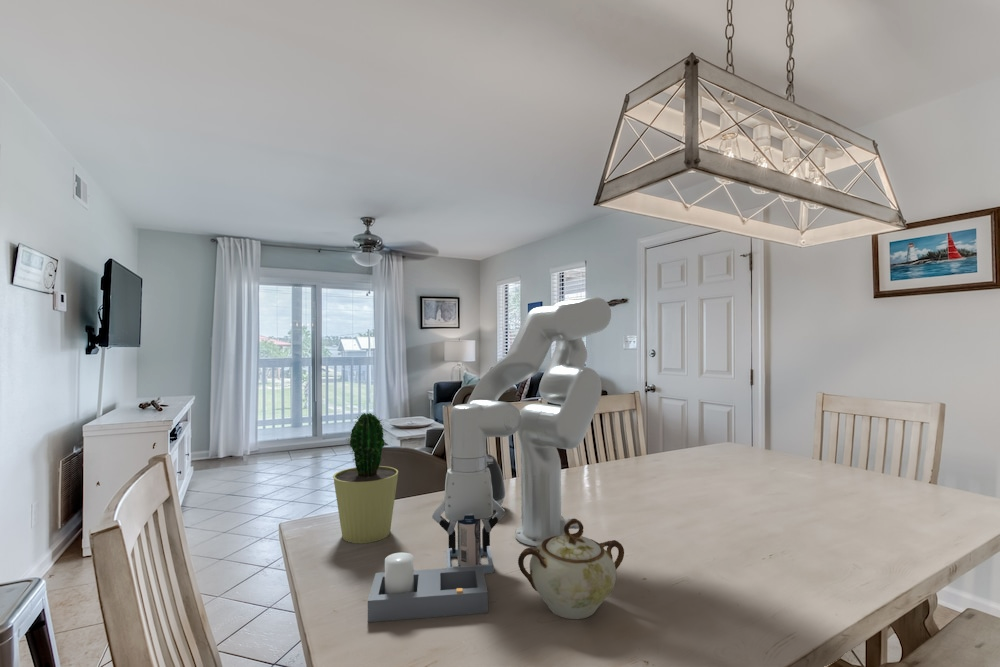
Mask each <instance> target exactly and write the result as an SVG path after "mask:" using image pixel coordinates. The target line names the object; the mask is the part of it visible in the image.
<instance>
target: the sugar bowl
mask: <svg viewBox="0 0 1000 667" xmlns="http://www.w3.org/2000/svg"><path fill="white" fill-rule="evenodd" d="M579 520H580V519H577V518H573V519H571V520H569V521H568V522H567V523H566V524H565V526H564V533H565V535H559V536H554V537H550V538H547V539H546V540H544V541H543V542H542V544H540V545H539V546H536V548H534V547H527V548H525V549H524V550H522V551H521V553H520V554H519V556H518V558H517V559H518V560H517V564H518V568H519V571H520V572H521V573H522V574H523V576H524V577H525V578H526V579H527V581H528V582H529V584H530V586H531V587H532V589H534V591H535V592H537V593H538V594H539V596H540V598H541V599H542V600H543V601H544V602H545V604H546V605H547V607H548V609H549V610H550V611H551V612H552V613H553V614H554V615H556V616H558V617H561V618H563V619H568V620H581V619H586V618H589V617H591V616H592V615H593V614H595V613H596V611H597V609H598V608H599V607H600V606H601V604H603V602H604V601H605V600H606V599H607V598H608V596H609V595H610V594H611V592H612V590H613V589H614V587H615V583H616V579H617V569H618V568H619V566H620V565H621V564H622V562H623V560H624V556H625V549H624V546H623V545H622V543H620V542H619V541H618V540H616V539H613V540H608V541H604V542H601V543H599V542H597V541H596V540H594V539H591V538H589V537H586V536H584V535H583V534H584V524H583V523H582V521H581V522H580V521H579ZM573 524H578V525H579V529H578V531H577V532H574V533H571V532H570V529H569V527H570V526H571V525H573ZM605 547H607V548H606V549H605ZM614 547H615V548H616V549H617V551H618V554H617V558H616V559H615V561H614V559H613V555H612V550H613V548H614ZM530 555H531V557H530V560H529V572H528V571H527V569H526V568H525V565H524V561H525V558H526V557H527V556H530Z"/></svg>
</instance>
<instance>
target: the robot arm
mask: <svg viewBox="0 0 1000 667" xmlns="http://www.w3.org/2000/svg"><path fill="white" fill-rule="evenodd" d="M611 310H612V309H611V307H610V305H609V302H608V301H606V300H605V299H604V298H602V297H598V296H595V297H594V296H593V297H583V298H574V299H565V300H561V301H559V302H558V301H557V302H555V303H554V305H543V306H537V307H534V308H532V309H531V310H529V312H528V313H527V314H526V315H525V317H524V320H523V322H522V324H521V326H520V328H519V329H518V332H517V333H516V335H515V337H514V339H513V341H512V343H511V344H510V347H509V349H508V350H507V352H506V355H505V356H503V358H501V360H499V361H498V362H497V363H496V364H494V365H493V366H492V367H491V368H490V369H489V370H488V371H487V372H486V373H484V375H483V376H482V377H481V378H480V379H479V380H478V382H477V383H476V385H475V387H474V389H473V391H472V392H471V395H470V396H469V398H468V400H467V402H466V403H461V404H456V405H454V406H453V407H452V408H451V409H450V416H449V418H450V419H449V420H450V421H449V422H450V426H449V427H450V429H449V430H450V436H449V437H450V468H448V469H447V471H446V474H445V483H444V499H443V500H444V501H442V502H441V504H440V505H438V507H437V508H436V509H435V510H434V511H433V513H432V514H431V517H432V519H433V520H434V521H435V522H436V523H437V524H439V526H440V527H441V528H442V529H443V530H444V531H446V532H447V534H448V549H452V554H455V553H456V549H457V548H456V547H457V546H456V545H457V544H456V542H457V540H456V537H457V535H456V530H455V528H456V526H457V524H458V521H460V520H464V516H465V514H471V513H472V514H474V518H475V519H480V521H481V522H482V524H483V528H482V529H481V535H482V536H481V539H482V540H481V541H482V542H481V547H483V551H484V552H487V547H489V546H491V539H490V538H491V531H492V529H493V528H495V527H496V525H497V523H499V521H500V520H502V518H503V517H504V516H505V514H506V511H505V509H504V508H503V507H502V505H501V506H500V505H499V504H498V503H497V502H496V501H495V500H494V499H493V492H492V483H491V474H490V470H489V468H487V466H488V464H493V457H494V456H493V457H488V456H486V454H487V438H492V437H493V438H494V437H495V438H505V437H509V436H513V435H514V434H515V433H517V439H518V443H519V448H520V449H519V450H520V451H519V452H520V482H521V483H520V486H521V487H520V489H521V490H520V495H521V496H520V497H521V499H520V500H521V503H520V504H521V525H520V526H518V527H517V528H516V529H515V533H514V534H515V535H514V536H515V538H516V540H517V541H518V542H520V543H522V544H525V545H528V546H533V547H538V546H539V545H540V544H542V542H543V541H544V540H546V539H547V538H550V537H554V536H559V535H565V533H564V526H565V524H566V523H567V522H568V521H569V520H571V519H574V518H573V517H567V518H564V517H563V515H562V464H561V462H562V461H561V458H560V453H559V451H558V449H563V450H574V449H575V448H577V447H579V446H580V444H582V442H583V441H584V439H585V438H586V435H587V433H588V430H589V429H590V428H589V427H590V426H591V423H592V420H593V418H594V416H595V413H596V411H597V408H598V405H599V403H600V399H601V397H602V388H603V387H602V380H601V377H600V375H599V374H598V372H597V371H595V369H592V368H590V367H588V366H587V367H586V366H585V365H586V362H587V359H588V351H587V347H586V344H585V342H584V340H583V338H585V337H587V336H591V335H594V334H597V333H600V332H602V331H604V330H605V329H606V328H607V327H608V326H609V324H610V323H611V322H610V321H611V319H612V311H611ZM553 342H555V347H554V350H553V352H552V356H551V358H550V360H549V362H548V364H547V365H546V368H545V370H544V373H543V375H542V377H541V380H540V382H539V386H538V392H539V396H540V397H541V398H542V400H544V401H545V402H547V403H540V402H539V403H538V402H537V403H536V402H535V403H529V404H526V405H524V407H522V408H521V409H519V408H518V407H517V406H516V405H514V404H513V403H511V402H507V401H501V400H500V401H499V399H500V397H501V396H502V395H503V394H504V393H505V392H507V390H509V389H510V388H512V387H513V386H514V385H517V384H519V383H522V382H524V381H526V380H528V379H530V378H533V377H534V376H535V375H537V374H538V373H539V371H540V370H541V367H542V365H543V363H544V361H545V359H546V357H547V355H548V352H549V350H550V349H551V346H552V344H553ZM549 403H551V404H549ZM493 508H494V509H495V510H494V511H495V514H494V511H493ZM443 513H444V516H445V518H444V517H443V516H442V514H443ZM578 520H579V521H580V522H581V523H582V520H580V519H578ZM571 529H573V530H577V529H578V530H579V525H578V524H573V525H571V526H570V527H569V530H571Z"/></svg>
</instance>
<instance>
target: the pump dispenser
mask: <svg viewBox="0 0 1000 667" xmlns="http://www.w3.org/2000/svg"><path fill="white" fill-rule="evenodd" d="M486 456H488V457H493V464H488V466H487V468H489V470H490V474H491V483H492V492H493V499H494V500H495V501H496V502H497V503H498V504H499V505H500V506H501V507H502V505H503V502H504V499H505V497H506V488H505V481H504V476H503V473H502V469H501V468H500V465H499V463H498V461H497V459H496V458H495V457H494V456H493V455H492V454H489V453H486ZM494 511H496V510H495V509H494V508H493V512H494Z"/></svg>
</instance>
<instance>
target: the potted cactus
mask: <svg viewBox="0 0 1000 667" xmlns="http://www.w3.org/2000/svg"><path fill="white" fill-rule="evenodd" d="M354 419H355V423H354V424H353V427H352V429H350V431H351V432H350V436H349V437H348V438H346V439H345V440H347V442H348V447H349V449H351V450H352V451H351V450H350V453H351V454H352V462H354V466H355V467H351V468H347V469H343V470H340V471H337V472H336V473H334V474H333V475H332V478H333V485H334V489H335V498H336V503H337V509H338V517H339V523H340V531H341V536H342V540H344V541H345V542H347V541H348V543H350V542H352V543H351V544H368V543H375V542H378V541H381V540H384V539H385V538H387V537H388V536H389V535H390V534H391V529H392V528H391V527H392V521H393V515H394V514H393V513H394V506H395V498H396V492H397V491H396V490H397V484H398V478H399V476H398V475H399V470H398V469H396V468H394V467H391V466H383V465H382V464H381V463H383V462H386V461H384V460H385V457H386V456H384V455H382V454H385V452H384V447H387V444H386V445H385V442H387V440H386V439H384V438H385V435H384V433H385V432H386V430H385V428H383V427H384V424H383V423H382V422H381V421H382V420H384V418H382V419H381V420H380V419H379V417H378V416H377V414H376V413H375V414H374V413H371V411H369V412H366V413H364V412H363V413H361V414H359V416H356V418H355V417H354ZM347 435H349V433H347ZM382 456H383V457H384V458H382Z"/></svg>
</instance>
